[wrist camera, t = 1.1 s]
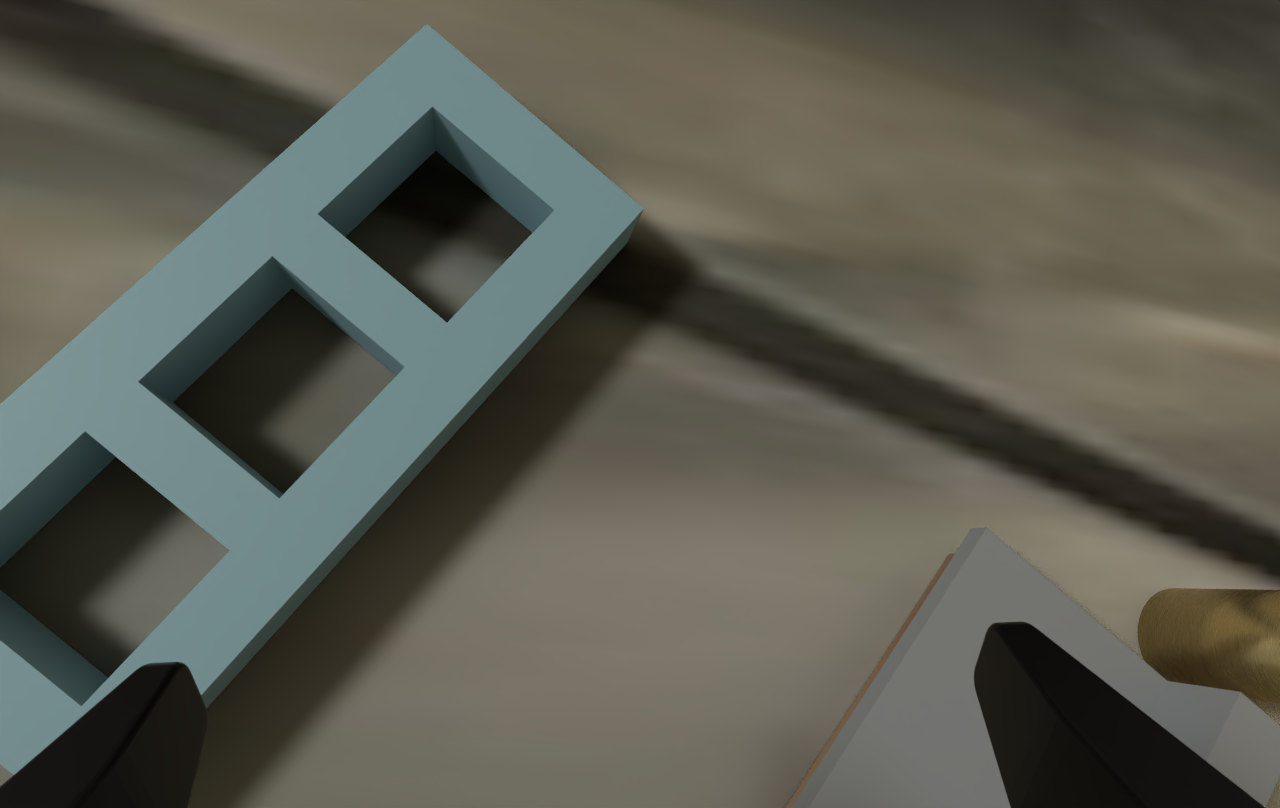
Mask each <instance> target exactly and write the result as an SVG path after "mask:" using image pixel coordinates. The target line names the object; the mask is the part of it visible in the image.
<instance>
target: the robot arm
mask: <svg viewBox="0 0 1280 808" xmlns="http://www.w3.org/2000/svg"><path fill="white" fill-rule="evenodd" d="M974 686H975V691H976V694H977V698H978V701H979V704H980V708H981V711H982V714H983V718H984V721H985V724H986V728H987V731H988V734H989V738H990V741H991V744H992V748H993V751H994V754H995V758H996V761H997V764H998V768H999V771H1000V774H1001V778H1002V781H1003V784H1004V788H1005V791H1006V794H1007V798H1008V801H1009V804H1010V807H1011V808H1265V807H1264V806H1263V805H1262V804H1260V803H1259V802H1258V801H1257V800H1255V799H1254V798H1253V797H1251V796H1250V795H1249V794H1248V793H1246V792H1245V791H1244V790H1243V789H1241V788H1240V787H1239V786H1237V785H1236V784H1235V783H1234V782H1232V781H1231V780H1230V779H1228V778H1227V777H1226V776H1225V775H1223V774H1222V773H1221V772H1220V771H1218V770H1217V769H1216V768H1214V767H1213V766H1212V765H1211V764H1209V763H1208V762H1207V761H1205V760H1204V759H1203V758H1202V757H1200V756H1199V755H1198V754H1197V753H1195V752H1194V751H1193V750H1191V749H1190V748H1189V747H1188V746H1186V745H1185V744H1184V743H1183V742H1181V741H1180V740H1179V739H1177V738H1176V737H1175V736H1174V735H1172V734H1171V733H1170V732H1168V731H1167V730H1166V729H1165V728H1163V727H1162V726H1161V725H1160V724H1158V723H1157V722H1156V721H1154V720H1153V719H1152V718H1151V717H1149V716H1148V715H1147V714H1145V713H1144V712H1143V711H1142V710H1140V709H1139V708H1138V707H1137V706H1135V705H1134V704H1133V703H1131V702H1130V701H1129V700H1128V699H1126V698H1125V697H1124V696H1122V695H1121V694H1120V693H1119V692H1117V691H1116V690H1115V689H1114V688H1112V687H1111V686H1110V685H1108V684H1107V683H1106V682H1105V681H1103V680H1102V679H1101V678H1100V677H1098V676H1097V675H1096V674H1094V673H1093V672H1092V671H1091V670H1089V669H1088V668H1087V667H1085V666H1084V665H1083V664H1082V663H1080V662H1079V661H1078V660H1077V659H1075V658H1074V657H1073V656H1071V655H1070V654H1069V653H1068V652H1066V651H1065V650H1064V649H1062V648H1061V647H1060V646H1059V645H1057V644H1056V643H1055V642H1054V641H1052V640H1051V639H1050V638H1048V637H1047V636H1046V635H1045V634H1043V633H1042V632H1041V631H1040V630H1038V629H1037V628H1036V627H1034V626H1033V625H1031V624H1029V623H1027V622H1020V621H1019V622H998V623H993V624H992V625H991V626H990V627H989V628H988V629H987V632H986V634H985V637H984V641H983V644H982V647H981V650H980V653H979V656H978V659H977V662H976V665H975V669H974ZM207 727H208V713H207V708H206V705H205V703H204V701H203V698H202V696H201V694H200V692H199V689H198V687H197V685H196V682H195V680H194V678H193V676H192V673H191V671H190V669H189V668H188V666H187V665H185V664H184V663H182V662H162V663H149V664H146V665H143V666H141V667H140V668H138V669H137V670H135V671H134V672H133V673H132V674H131V675H130V676H128V677H127V678H126V679H125V680H124V681H123V682H121V683H120V684H119V685H118V686H117V687H116V688H114V689H113V690H112V691H111V692H110V693H109V694H107V695H106V696H105V697H104V698H103V699H102V700H100V701H99V702H98V703H97V704H96V705H95V706H94V707H92V708H91V709H90V710H89V711H88V712H87V713H85V714H84V715H83V716H82V717H81V718H80V719H78V720H77V721H76V722H75V723H74V724H73V725H71V726H70V727H69V728H68V729H67V730H66V731H64V732H63V733H62V734H61V735H60V736H59V737H57V738H56V739H55V740H54V741H53V742H52V743H50V744H49V745H48V746H47V747H46V748H45V749H44V750H42V751H41V752H40V753H39V754H38V755H37V756H35V757H34V758H33V759H32V760H31V761H30V762H28V763H27V764H26V765H25V766H24V767H23V768H21V769H20V770H19V771H18V772H17V773H16V774H14V775H13V776H12V777H11V778H10V779H9V780H7V781H6V782H5V783H4V784H3V785H2V786H0V808H188V805H189V801H190V797H191V793H192V789H193V785H194V781H195V777H196V773H197V769H198V765H199V761H200V757H201V753H202V749H203V745H204V741H205V737H206V732H207Z"/></svg>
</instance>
